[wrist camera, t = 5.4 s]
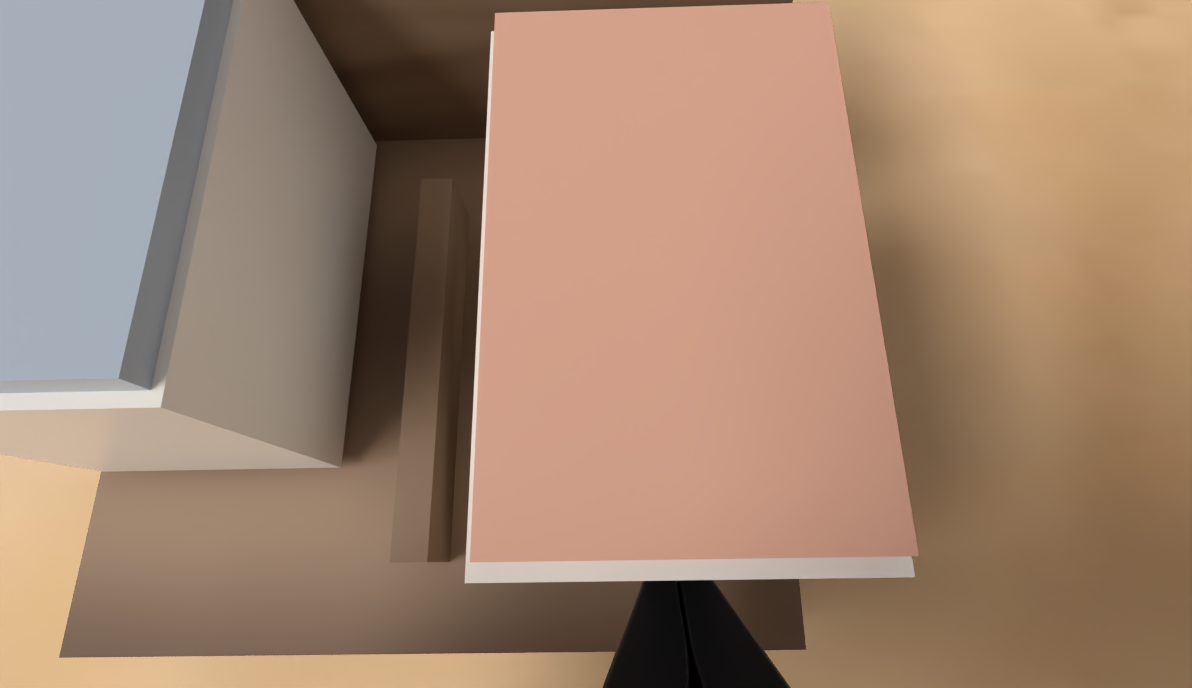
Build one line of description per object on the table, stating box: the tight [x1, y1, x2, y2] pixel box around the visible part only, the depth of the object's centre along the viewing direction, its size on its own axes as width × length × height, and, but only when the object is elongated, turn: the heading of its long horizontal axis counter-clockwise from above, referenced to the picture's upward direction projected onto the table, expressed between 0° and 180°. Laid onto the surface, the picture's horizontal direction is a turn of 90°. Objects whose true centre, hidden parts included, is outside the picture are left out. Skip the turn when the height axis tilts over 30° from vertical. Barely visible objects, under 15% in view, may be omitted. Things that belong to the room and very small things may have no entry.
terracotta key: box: [465, 2, 919, 583], centre depth 10 cm, size 7×4×6 cm, turn 1°
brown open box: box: [59, 0, 806, 658], centre depth 12 cm, size 12×13×10 cm
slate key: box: [0, 0, 377, 472], centre depth 10 cm, size 7×4×6 cm, turn 1°
